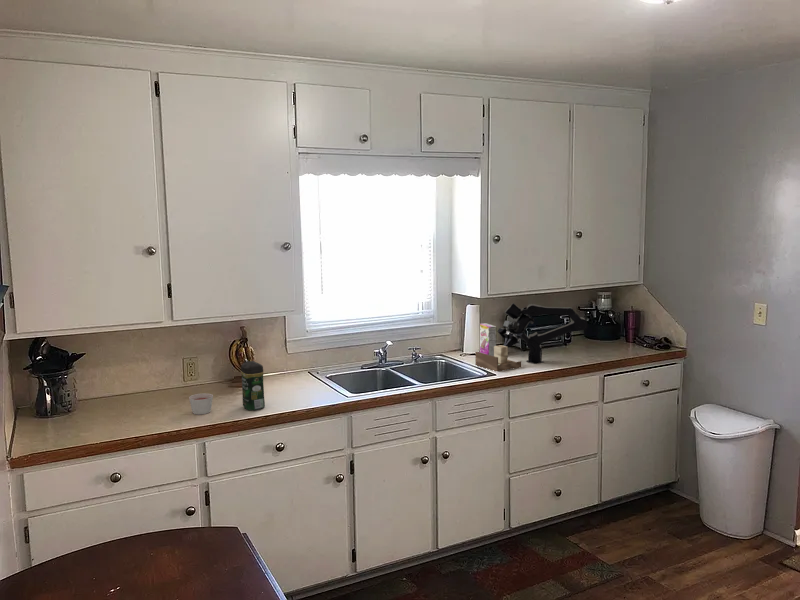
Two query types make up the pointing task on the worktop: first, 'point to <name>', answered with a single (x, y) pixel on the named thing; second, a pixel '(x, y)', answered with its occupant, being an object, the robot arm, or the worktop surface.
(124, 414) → the worktop surface
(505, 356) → the maple block
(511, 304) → the robot arm
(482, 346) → the candy bar box
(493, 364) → the trap box
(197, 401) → the candle
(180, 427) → the worktop surface
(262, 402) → the coffee jar
